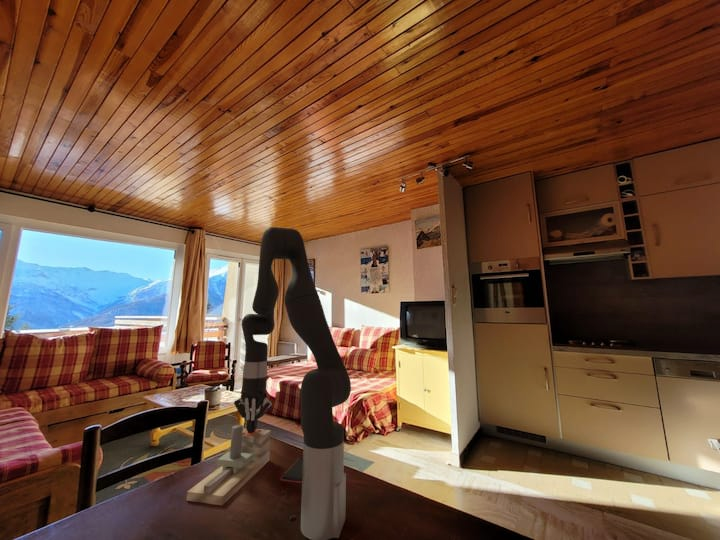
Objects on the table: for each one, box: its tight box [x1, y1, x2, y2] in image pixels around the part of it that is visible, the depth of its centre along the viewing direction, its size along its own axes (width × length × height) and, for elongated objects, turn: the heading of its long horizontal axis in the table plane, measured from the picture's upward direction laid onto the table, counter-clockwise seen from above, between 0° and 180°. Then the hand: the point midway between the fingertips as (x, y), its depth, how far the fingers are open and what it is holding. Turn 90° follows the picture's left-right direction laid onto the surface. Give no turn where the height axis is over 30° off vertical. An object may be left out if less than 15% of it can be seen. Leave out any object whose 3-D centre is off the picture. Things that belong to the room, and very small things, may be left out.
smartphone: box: [279, 456, 303, 484], centre depth 87 cm, size 7×1×14 cm
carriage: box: [216, 424, 253, 474], centre depth 83 cm, size 8×5×11 cm, turn 79°
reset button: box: [245, 430, 258, 436], centre depth 91 cm, size 4×4×3 cm
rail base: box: [186, 427, 272, 506], centre depth 82 cm, size 10×23×9 cm, turn 169°
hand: (251, 431), depth 91 cm, fingers closed
